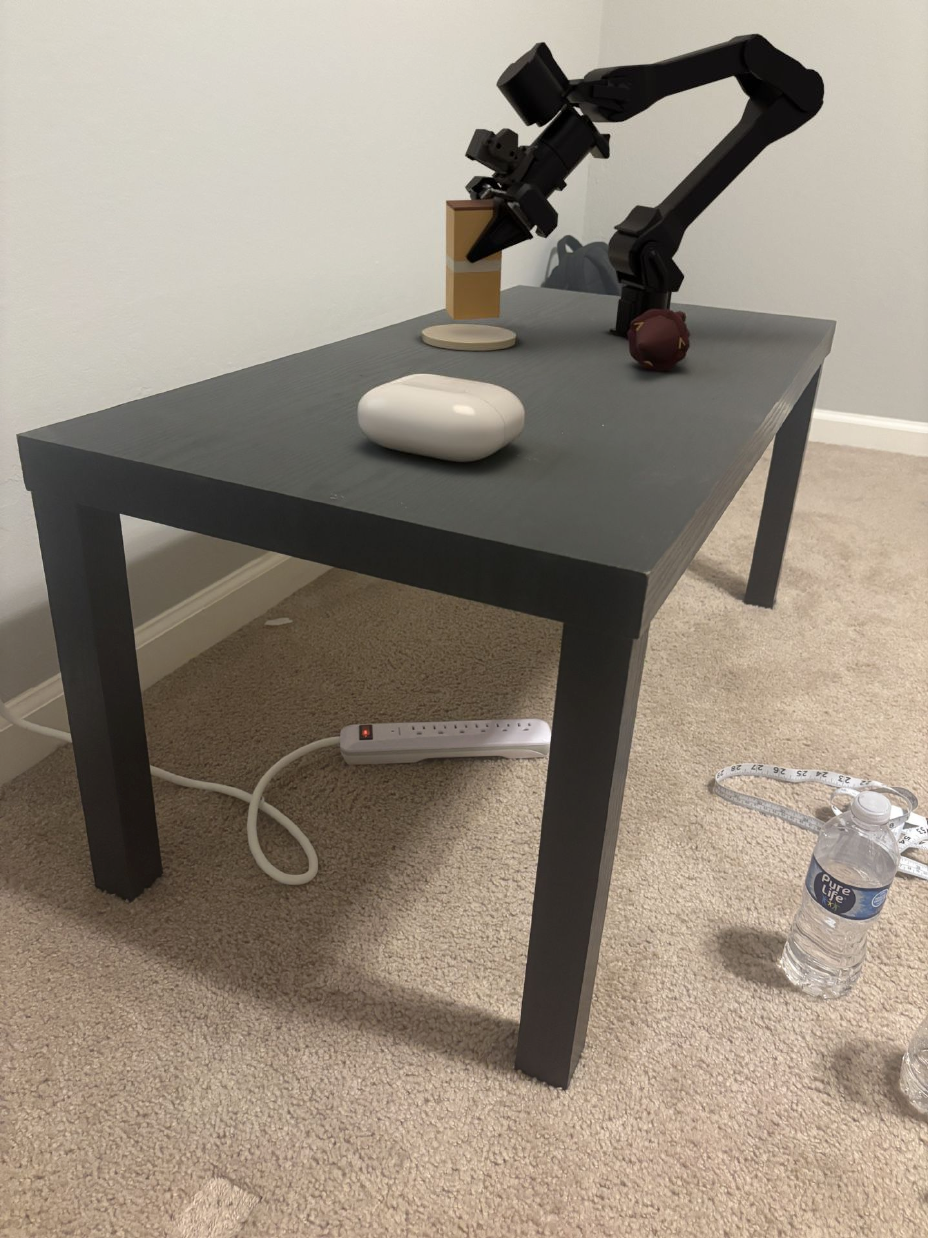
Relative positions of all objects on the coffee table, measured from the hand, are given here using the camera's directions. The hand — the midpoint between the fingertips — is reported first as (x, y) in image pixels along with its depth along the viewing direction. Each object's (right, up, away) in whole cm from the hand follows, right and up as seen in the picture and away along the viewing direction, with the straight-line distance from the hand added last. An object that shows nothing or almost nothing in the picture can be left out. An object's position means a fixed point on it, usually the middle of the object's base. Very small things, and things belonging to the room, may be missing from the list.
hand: (461, 257), depth 111 cm
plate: (+1, -9, +5) cm, 10 cm away
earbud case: (-2, -30, -35) cm, 46 cm away
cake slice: (+1, -6, +4) cm, 7 cm away
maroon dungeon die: (+23, -15, -5) cm, 28 cm away
